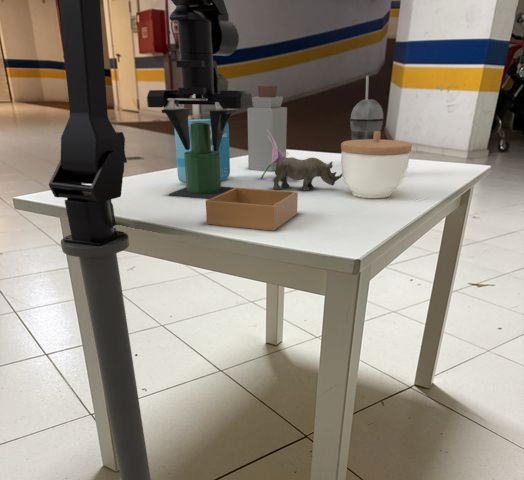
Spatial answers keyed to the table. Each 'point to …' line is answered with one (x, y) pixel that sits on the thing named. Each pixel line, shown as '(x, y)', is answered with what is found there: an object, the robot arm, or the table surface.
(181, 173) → the data package
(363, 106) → the beverage cup
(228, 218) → the carton
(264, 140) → the perfume bottle
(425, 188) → the table surface
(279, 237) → the table surface
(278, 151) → the lily
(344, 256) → the table surface
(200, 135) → the bottle
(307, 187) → the rhino figurine
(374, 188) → the lidded bowl
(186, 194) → the mat
